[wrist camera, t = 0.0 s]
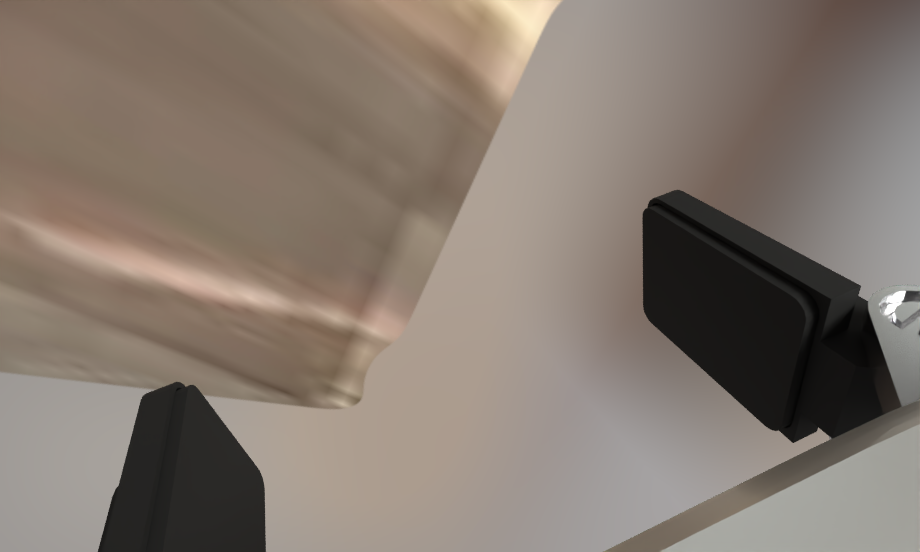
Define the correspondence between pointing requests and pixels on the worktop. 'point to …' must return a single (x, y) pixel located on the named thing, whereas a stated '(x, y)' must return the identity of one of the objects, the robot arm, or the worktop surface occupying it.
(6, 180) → the worktop surface
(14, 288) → the worktop surface
